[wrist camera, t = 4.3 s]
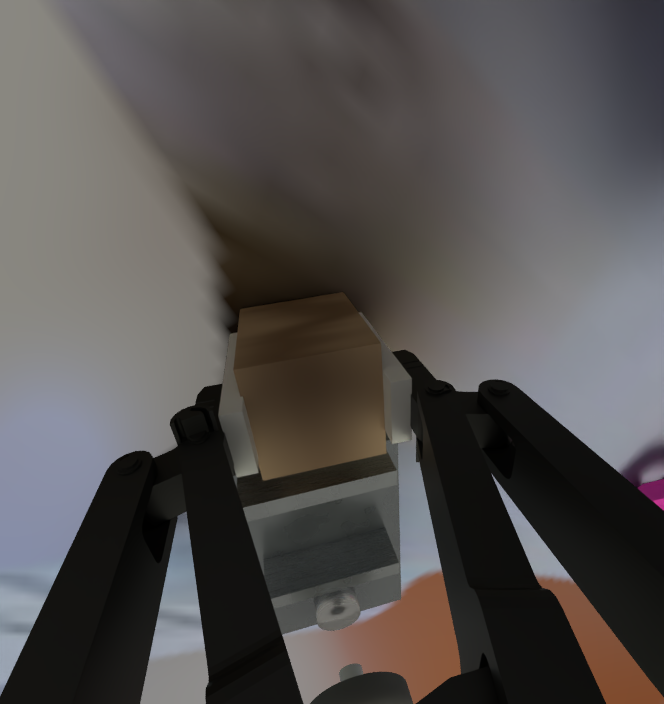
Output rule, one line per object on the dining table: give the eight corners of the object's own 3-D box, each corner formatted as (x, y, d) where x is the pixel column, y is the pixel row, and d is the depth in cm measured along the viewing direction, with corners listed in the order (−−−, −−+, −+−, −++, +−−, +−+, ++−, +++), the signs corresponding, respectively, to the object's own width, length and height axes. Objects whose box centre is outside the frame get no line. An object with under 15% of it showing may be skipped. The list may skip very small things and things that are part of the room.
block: (343, 292, 18) (381, 342, 12) (351, 379, 20) (386, 453, 15) (239, 308, 17) (233, 369, 12) (260, 396, 19) (262, 480, 14)
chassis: (385, 414, 22) (415, 465, 18) (391, 574, 30) (414, 635, 26) (220, 450, 21) (214, 514, 17) (270, 608, 28) (274, 679, 24)
